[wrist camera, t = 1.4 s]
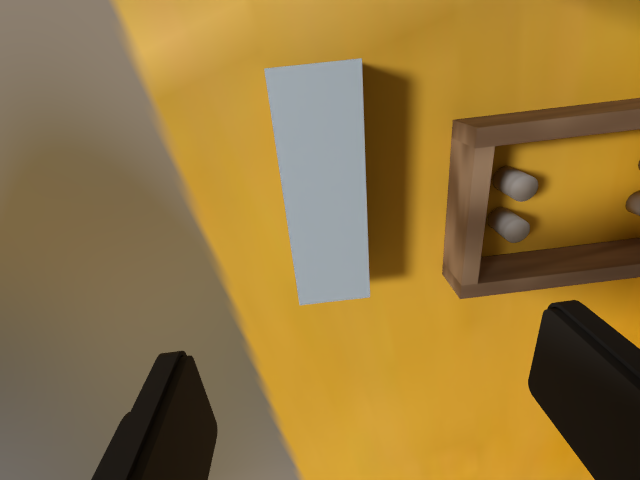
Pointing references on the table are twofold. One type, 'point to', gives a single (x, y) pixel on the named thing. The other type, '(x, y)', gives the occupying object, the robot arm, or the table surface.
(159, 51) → the table surface
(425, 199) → the table surface
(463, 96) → the table surface
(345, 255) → the grey rectangular block
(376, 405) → the table surface
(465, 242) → the frame
